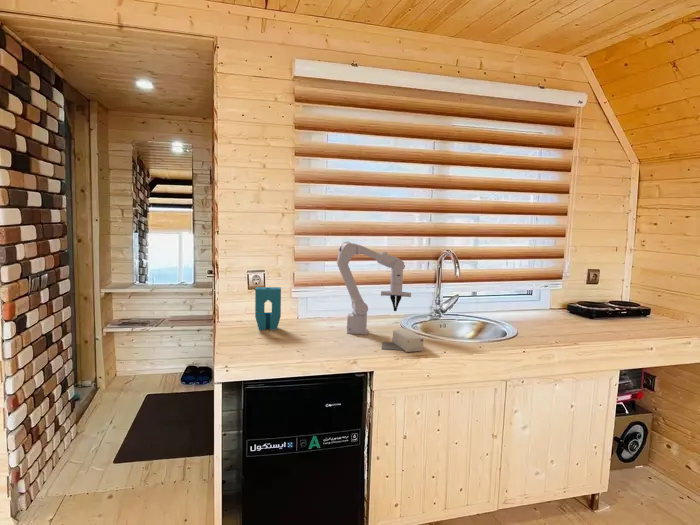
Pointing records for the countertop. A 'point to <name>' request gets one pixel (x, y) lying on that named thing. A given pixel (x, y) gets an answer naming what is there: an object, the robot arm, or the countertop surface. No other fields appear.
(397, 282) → the robot arm
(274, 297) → the block
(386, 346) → the mat
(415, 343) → the skincare box
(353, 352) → the countertop surface
